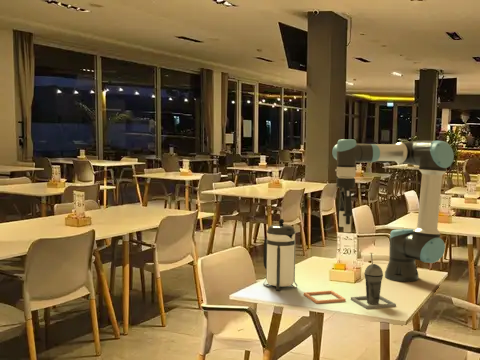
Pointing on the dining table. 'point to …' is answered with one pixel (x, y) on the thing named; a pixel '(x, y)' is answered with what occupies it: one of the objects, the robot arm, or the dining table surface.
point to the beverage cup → (373, 283)
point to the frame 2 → (390, 304)
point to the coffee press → (280, 255)
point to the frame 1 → (324, 300)
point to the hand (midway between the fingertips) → (344, 229)
